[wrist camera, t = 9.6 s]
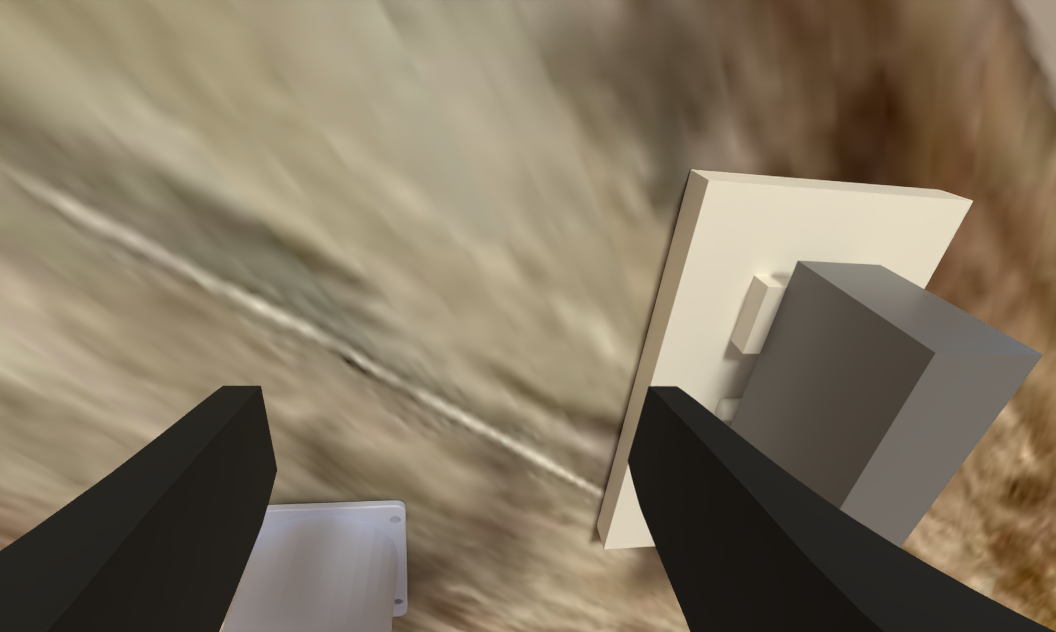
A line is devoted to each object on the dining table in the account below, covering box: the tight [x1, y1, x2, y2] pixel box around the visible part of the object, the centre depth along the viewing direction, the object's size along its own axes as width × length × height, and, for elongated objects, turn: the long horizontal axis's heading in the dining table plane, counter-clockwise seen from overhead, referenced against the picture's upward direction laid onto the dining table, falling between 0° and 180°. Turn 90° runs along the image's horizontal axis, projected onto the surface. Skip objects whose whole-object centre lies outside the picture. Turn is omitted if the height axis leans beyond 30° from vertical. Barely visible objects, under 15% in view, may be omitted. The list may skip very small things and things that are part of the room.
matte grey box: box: [730, 261, 1043, 548], centre depth 20 cm, size 15×4×6 cm, turn 174°
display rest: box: [597, 170, 973, 549], centre depth 23 cm, size 20×11×2 cm, turn 174°
